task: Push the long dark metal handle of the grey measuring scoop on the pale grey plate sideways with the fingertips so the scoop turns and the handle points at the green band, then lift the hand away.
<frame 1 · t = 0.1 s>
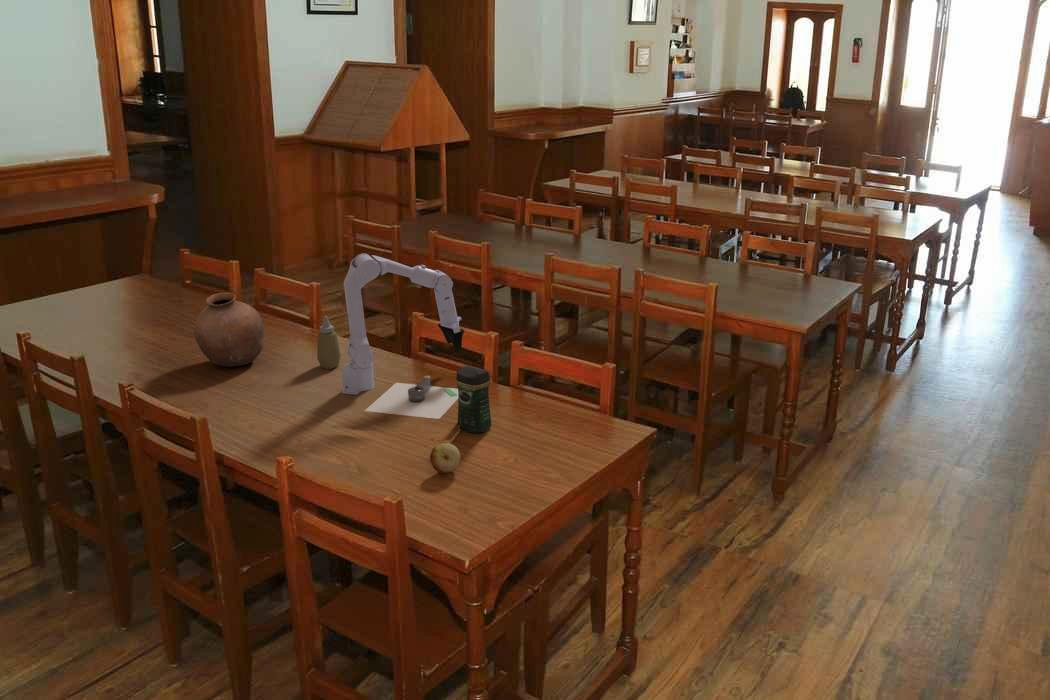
hand: (454, 346, 314), 11 cm above the table, tool pointing down, fingers open, 7 cm apart
grey measuring scoop: (420, 388, 297), point 4 cm above the table, hinge at 0.0°
squeeze bottle: (329, 366, 327), on the table
dial plate: (416, 404, 295), on the table
coffee jar: (474, 428, 278), on the table
fruit: (446, 472, 251), on the table
pottery: (233, 364, 331), on the table
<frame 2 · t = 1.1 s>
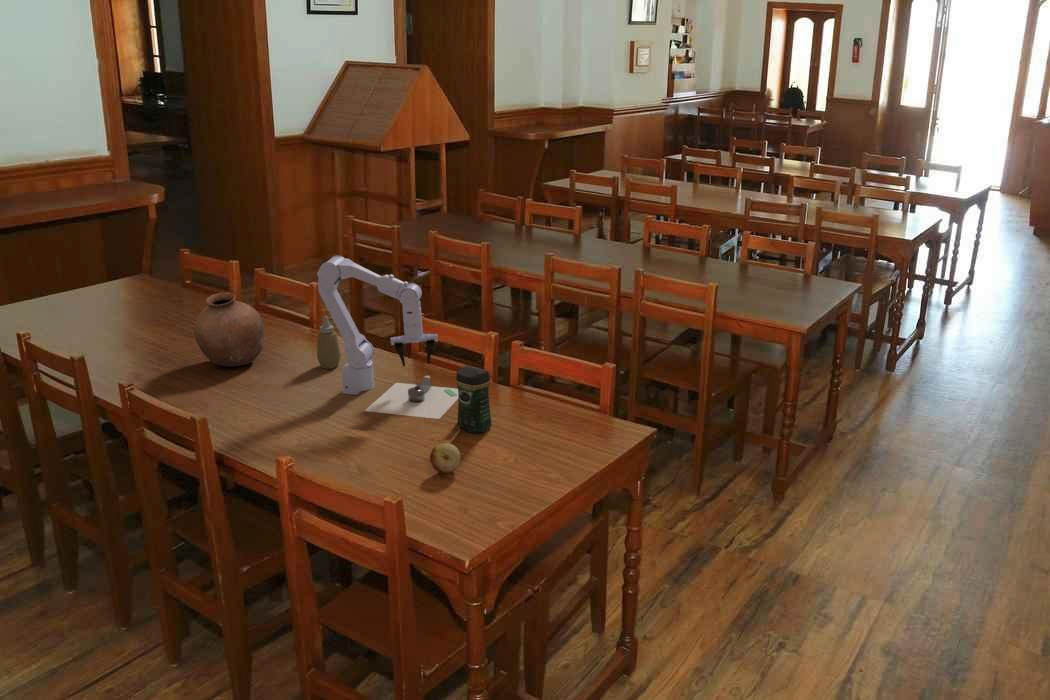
hand: (416, 364, 300), 10 cm above the table, tool pointing down, fingers open, 7 cm apart
nothing on the table moved.
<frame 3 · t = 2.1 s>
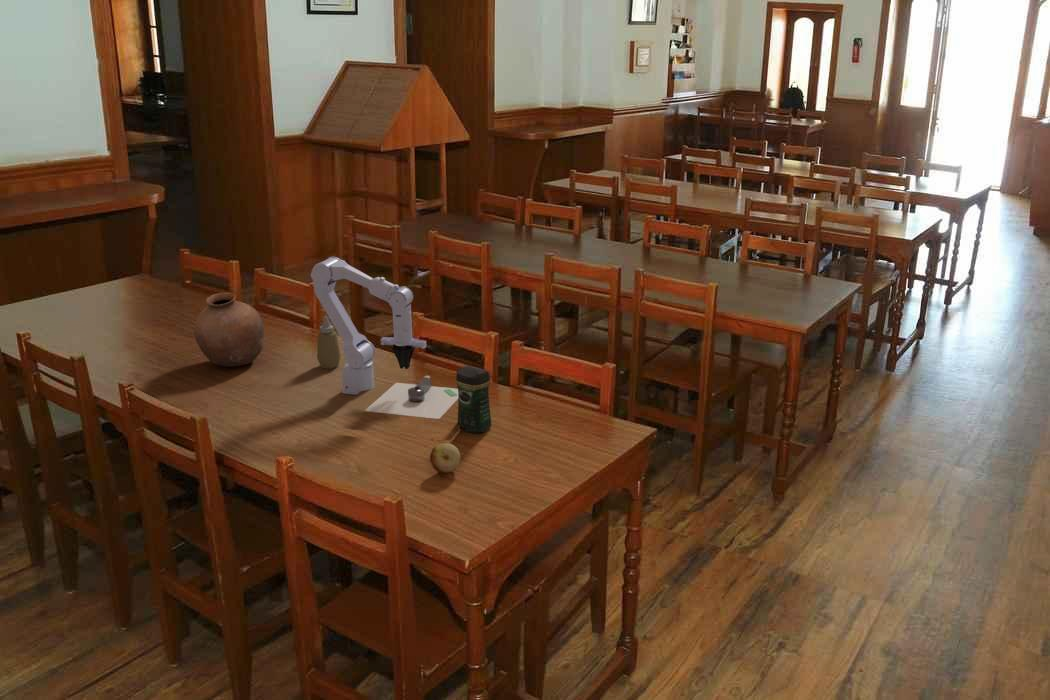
hand: (404, 367, 298), 9 cm above the table, tool pointing down, fingers closed
nothing on the table moved.
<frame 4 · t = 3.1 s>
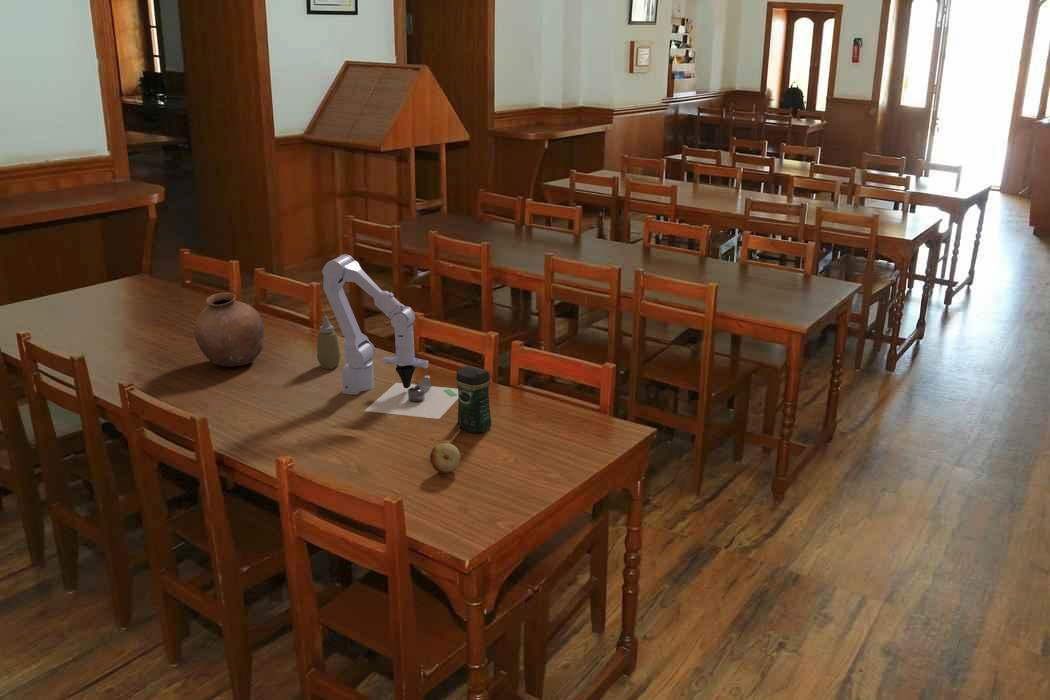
hand: (407, 387, 300), 3 cm above the table, tool pointing down, fingers closed
nothing on the table moved.
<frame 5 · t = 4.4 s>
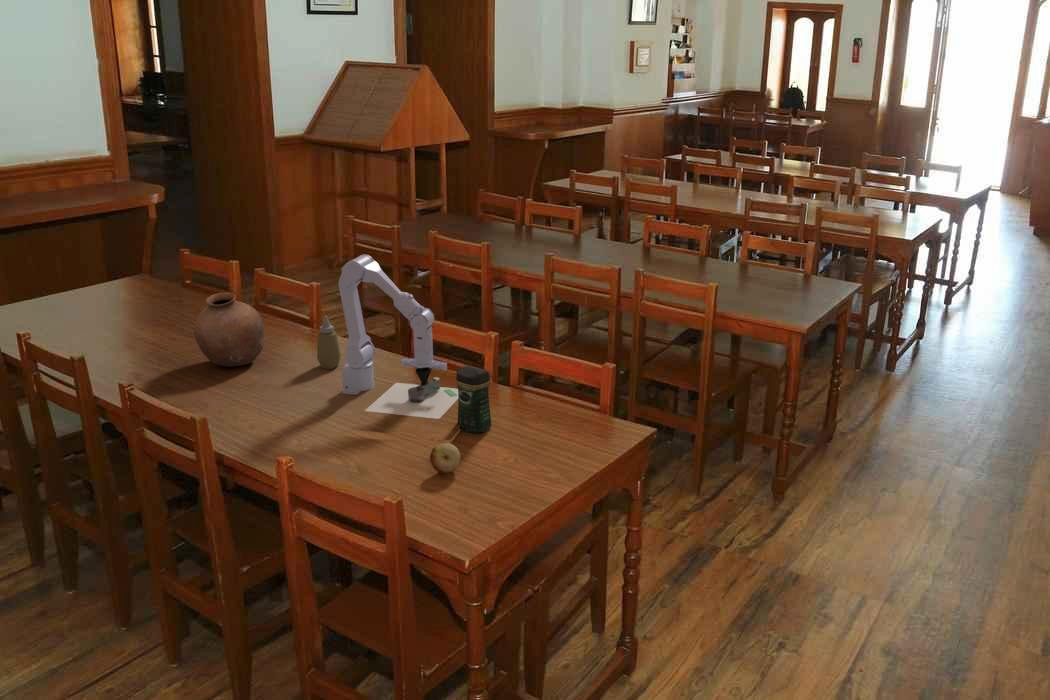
hand: (424, 389, 299), 3 cm above the table, tool pointing down, fingers closed, pressing on grey measuring scoop
grey measuring scoop: (424, 389, 296), point 4 cm above the table, hinge at -21.1°, touching gripper
everything else where it was.
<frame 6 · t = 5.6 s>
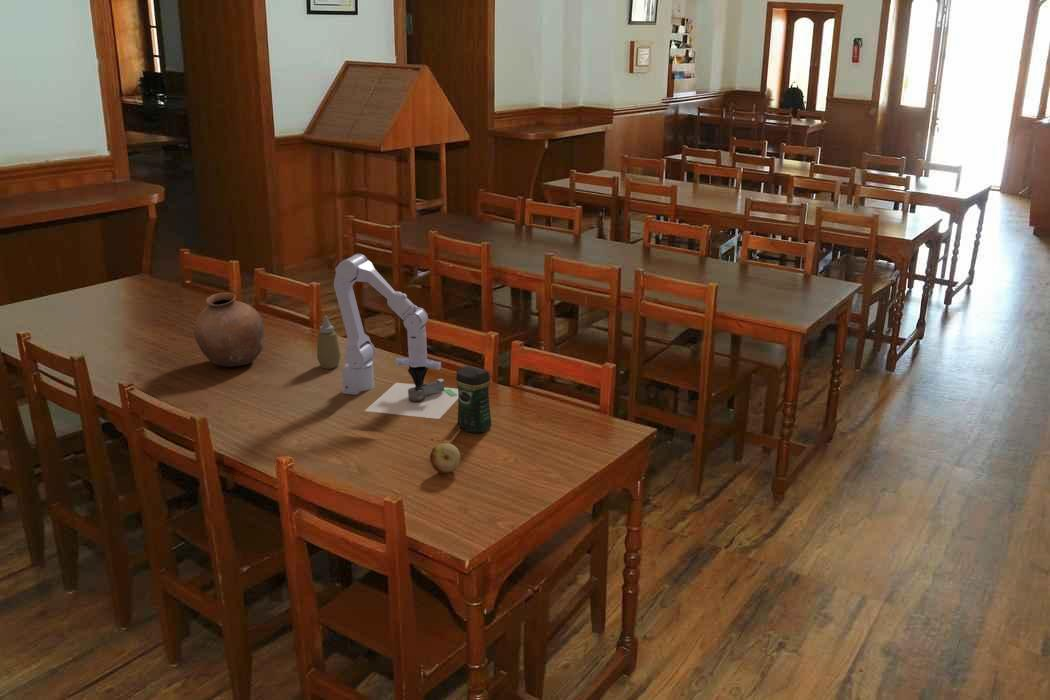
hand: (419, 388, 299), 3 cm above the table, tool pointing down, fingers closed
grey measuring scoop: (426, 390, 296), point 4 cm above the table, hinge at -33.4°
everything else where it was.
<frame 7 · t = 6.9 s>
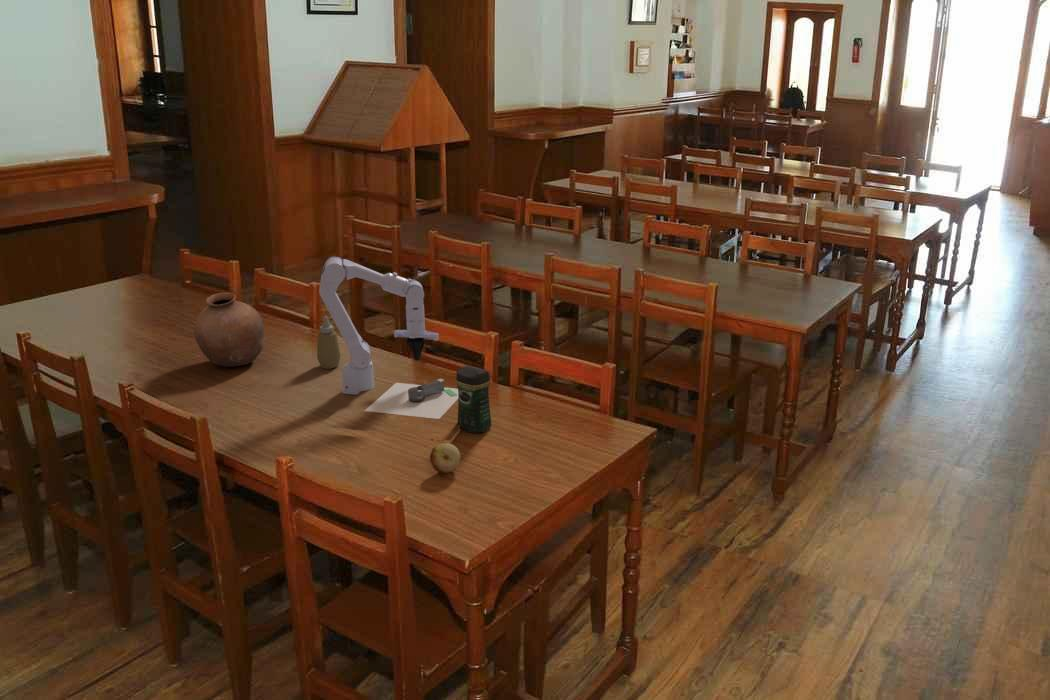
hand: (417, 359, 305), 9 cm above the table, tool pointing down, fingers closed
nothing on the table moved.
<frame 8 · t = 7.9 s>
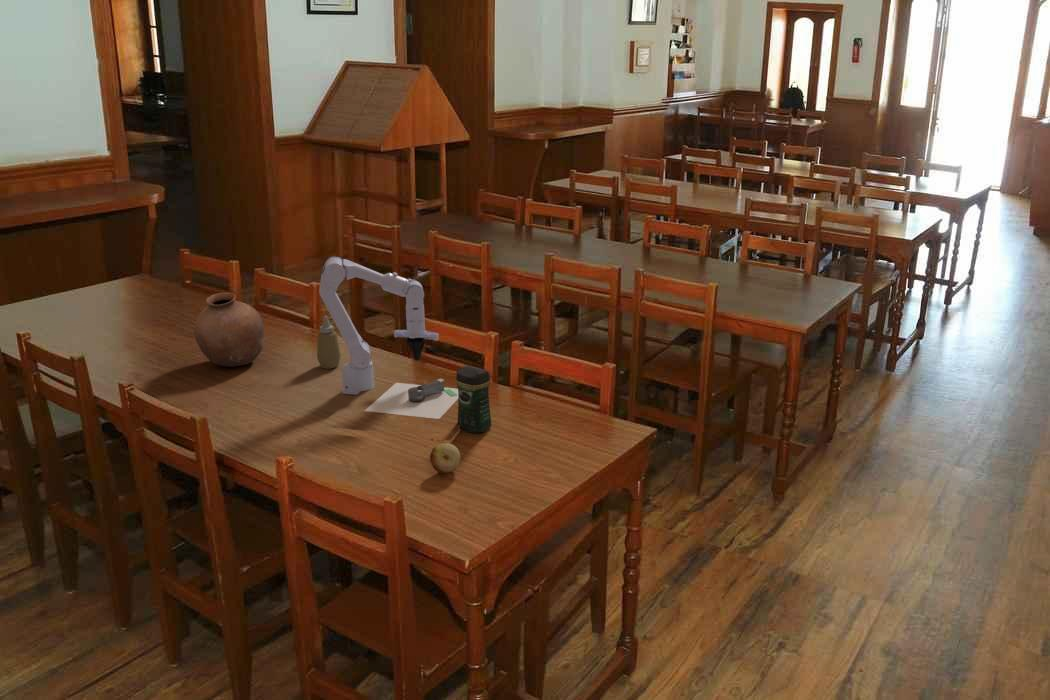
hand: (417, 359, 305), 9 cm above the table, tool pointing down, fingers closed
nothing on the table moved.
at the end: grey measuring scoop at -33° (first picture: +0°) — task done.
